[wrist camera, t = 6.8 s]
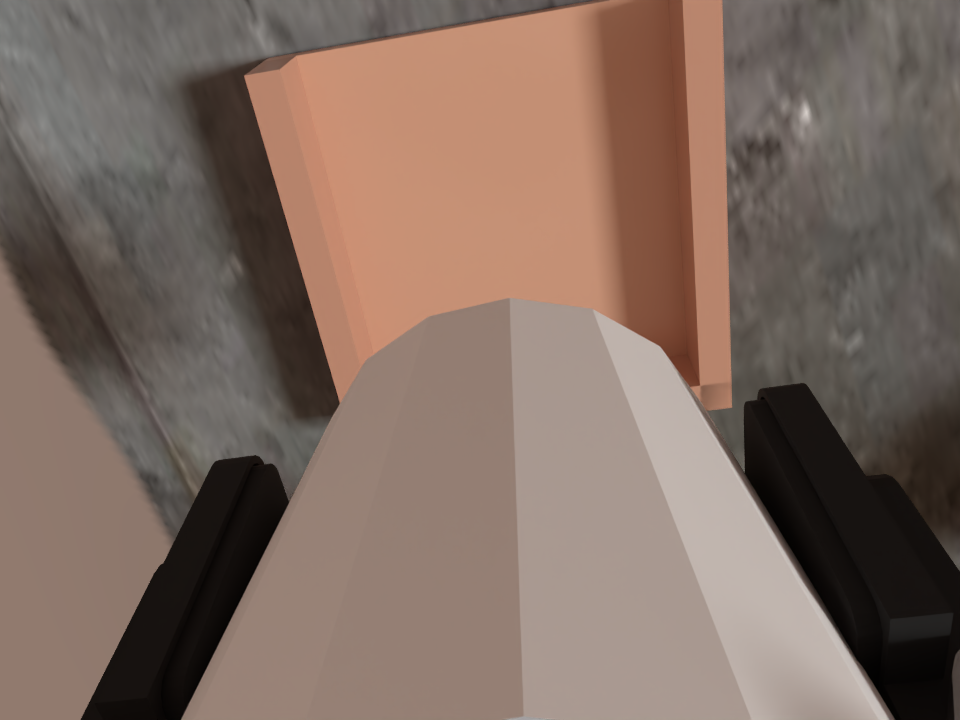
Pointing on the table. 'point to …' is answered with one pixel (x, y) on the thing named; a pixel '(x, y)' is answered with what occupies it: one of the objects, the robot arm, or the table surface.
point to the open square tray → (512, 176)
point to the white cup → (528, 548)
